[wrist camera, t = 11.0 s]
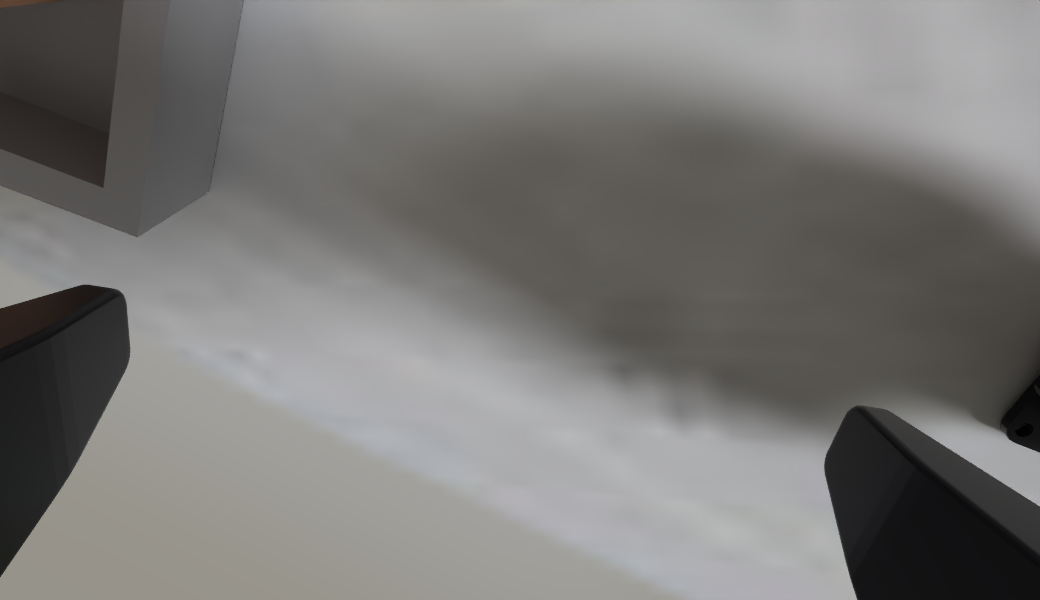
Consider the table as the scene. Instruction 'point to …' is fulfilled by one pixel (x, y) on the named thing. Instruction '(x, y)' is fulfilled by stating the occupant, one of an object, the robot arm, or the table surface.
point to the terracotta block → (22, 2)
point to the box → (114, 104)
